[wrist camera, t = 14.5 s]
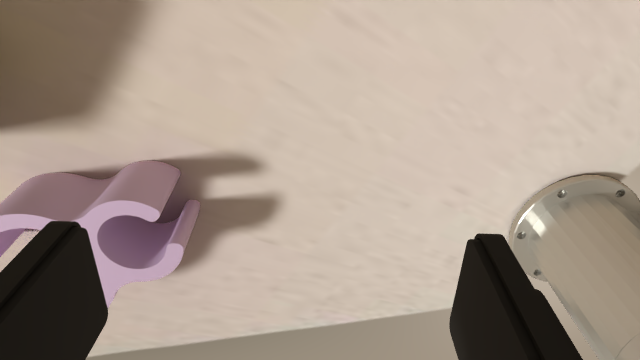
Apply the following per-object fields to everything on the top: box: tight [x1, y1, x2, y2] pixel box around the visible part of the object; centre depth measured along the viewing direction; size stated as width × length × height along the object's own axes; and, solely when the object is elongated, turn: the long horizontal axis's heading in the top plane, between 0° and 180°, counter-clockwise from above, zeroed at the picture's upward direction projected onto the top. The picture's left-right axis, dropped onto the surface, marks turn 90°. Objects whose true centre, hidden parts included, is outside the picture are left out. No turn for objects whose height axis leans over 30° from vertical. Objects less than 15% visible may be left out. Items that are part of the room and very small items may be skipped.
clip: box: [0, 161, 200, 308], centre depth 41 cm, size 20×12×7 cm, turn 111°
